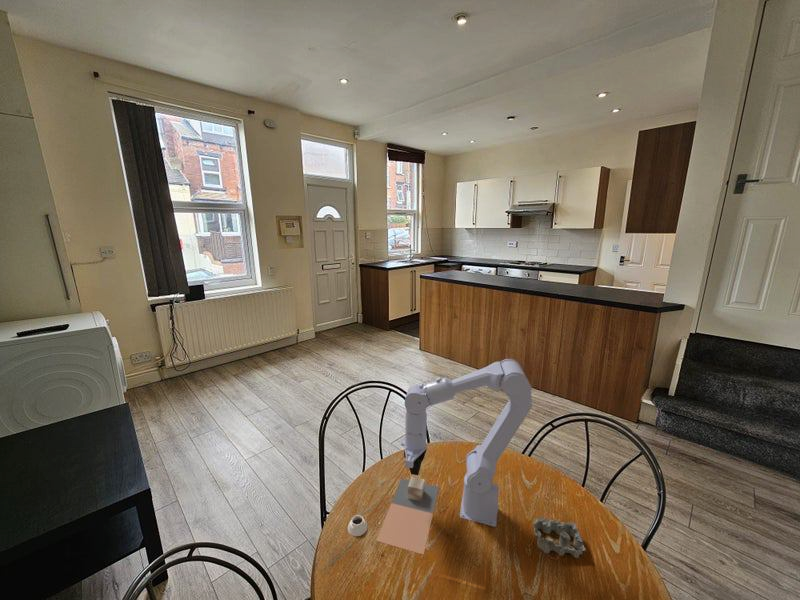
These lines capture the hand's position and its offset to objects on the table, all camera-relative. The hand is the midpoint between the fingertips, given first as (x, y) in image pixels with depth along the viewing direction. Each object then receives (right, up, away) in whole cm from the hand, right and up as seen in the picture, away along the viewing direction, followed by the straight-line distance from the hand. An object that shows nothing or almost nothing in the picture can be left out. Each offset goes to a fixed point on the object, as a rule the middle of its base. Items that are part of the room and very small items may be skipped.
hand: (414, 473), depth 90 cm
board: (-1, -10, -1) cm, 10 cm away
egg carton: (+35, -12, -10) cm, 38 cm away
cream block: (+1, -8, +4) cm, 9 cm away
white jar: (-15, -11, -7) cm, 20 cm away
